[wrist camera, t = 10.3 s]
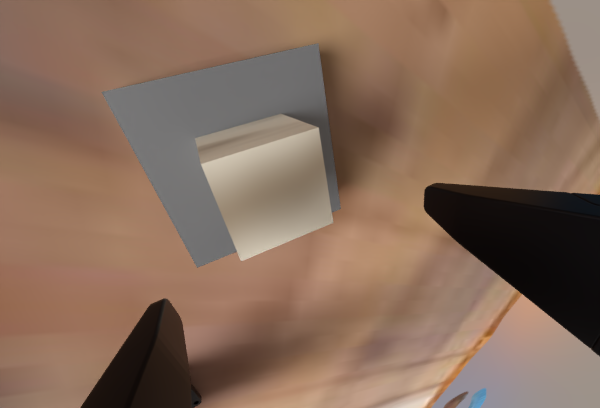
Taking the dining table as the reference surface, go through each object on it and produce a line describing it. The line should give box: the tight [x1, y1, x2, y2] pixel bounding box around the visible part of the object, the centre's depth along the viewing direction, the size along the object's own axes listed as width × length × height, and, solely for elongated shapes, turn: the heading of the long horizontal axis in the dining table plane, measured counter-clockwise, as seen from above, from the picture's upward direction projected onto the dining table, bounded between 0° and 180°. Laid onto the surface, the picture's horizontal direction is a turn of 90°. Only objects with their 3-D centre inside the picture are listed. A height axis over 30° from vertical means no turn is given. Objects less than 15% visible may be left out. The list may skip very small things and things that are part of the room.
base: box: [102, 44, 341, 268], centre depth 17 cm, size 11×11×3 cm
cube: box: [195, 114, 333, 261], centre depth 14 cm, size 5×5×5 cm
